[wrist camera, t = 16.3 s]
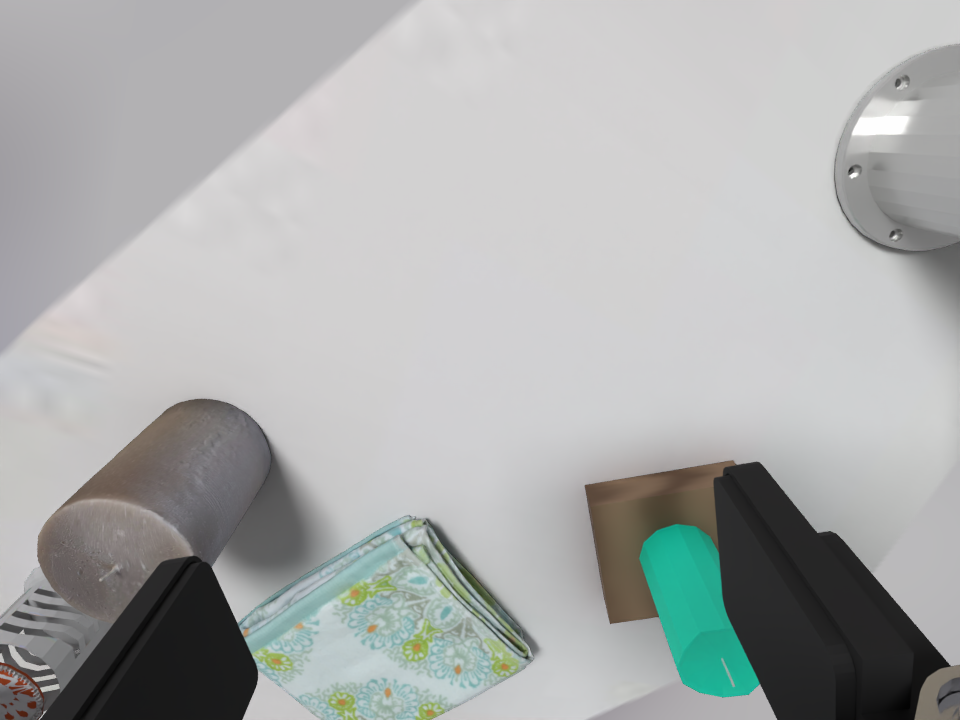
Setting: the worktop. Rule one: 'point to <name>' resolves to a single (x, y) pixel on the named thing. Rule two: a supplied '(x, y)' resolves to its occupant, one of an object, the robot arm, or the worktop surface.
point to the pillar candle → (155, 505)
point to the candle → (695, 611)
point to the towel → (385, 631)
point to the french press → (42, 647)
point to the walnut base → (645, 528)
